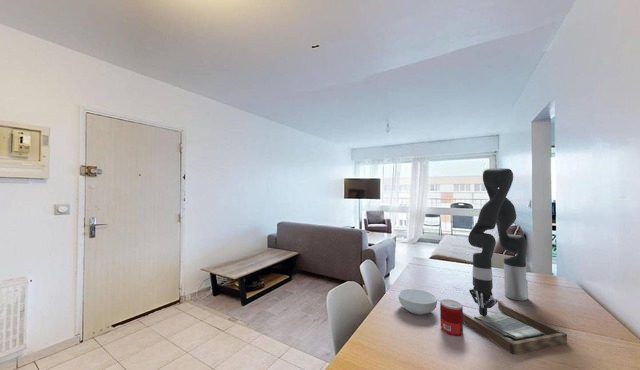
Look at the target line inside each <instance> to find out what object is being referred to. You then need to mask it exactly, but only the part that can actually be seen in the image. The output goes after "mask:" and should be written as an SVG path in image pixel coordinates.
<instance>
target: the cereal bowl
mask: <svg viewBox="0 0 640 370" xmlns="http://www.w3.org/2000/svg"><path fill="white" fill-rule="evenodd" d="M398 300H399V303H400V305H401V307H403V308H404V309H405V310H406V311H409V312H410V313H412V314H414V313H415V315H422V316H423V315H427V314H429V313H432V312H433V311H434V310H436V308H437V304H438V298H437V297H436V295H434V294H433V293H431V292H428V291H426V290H423V289H416V288H405V289H403V290H400V291H399V292H398Z"/></svg>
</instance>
